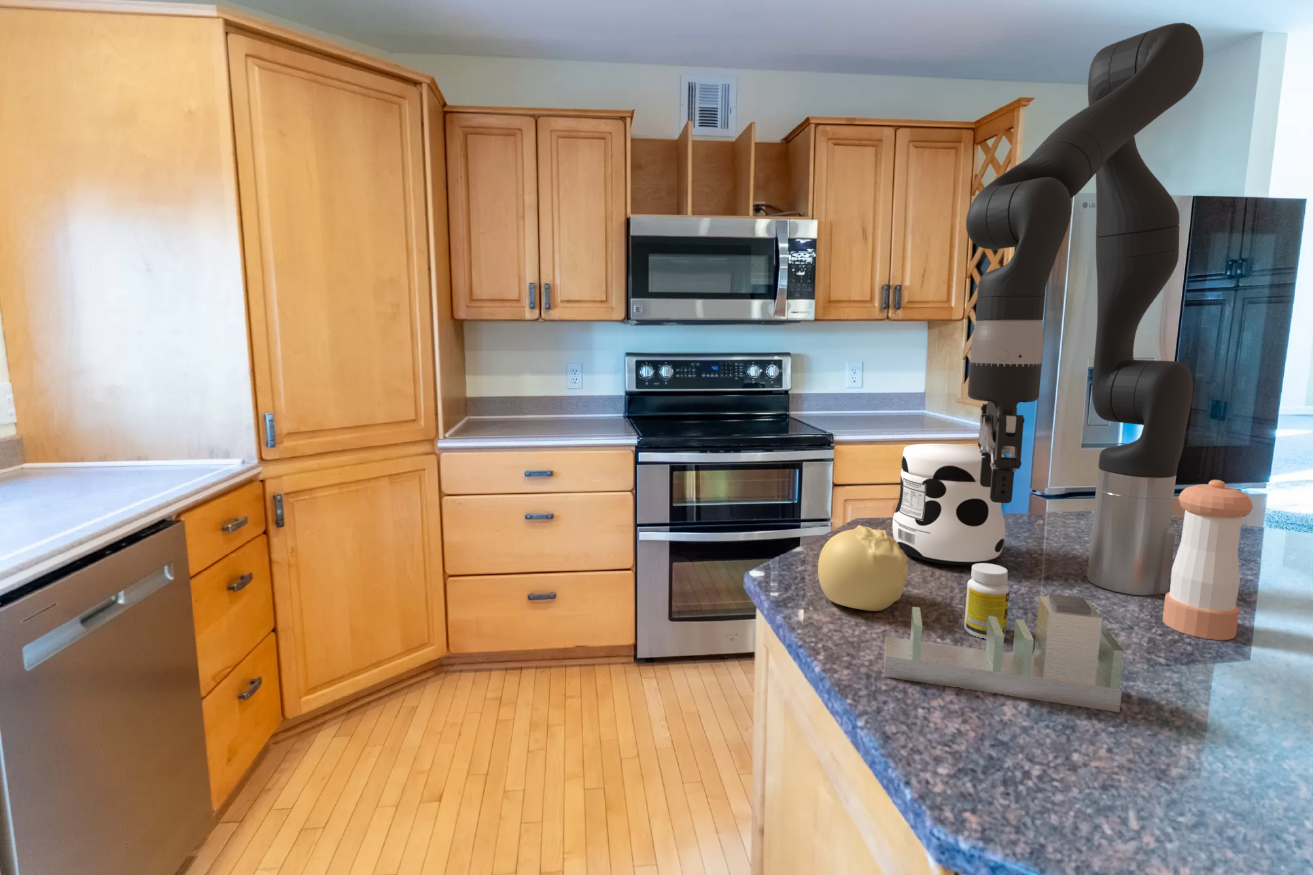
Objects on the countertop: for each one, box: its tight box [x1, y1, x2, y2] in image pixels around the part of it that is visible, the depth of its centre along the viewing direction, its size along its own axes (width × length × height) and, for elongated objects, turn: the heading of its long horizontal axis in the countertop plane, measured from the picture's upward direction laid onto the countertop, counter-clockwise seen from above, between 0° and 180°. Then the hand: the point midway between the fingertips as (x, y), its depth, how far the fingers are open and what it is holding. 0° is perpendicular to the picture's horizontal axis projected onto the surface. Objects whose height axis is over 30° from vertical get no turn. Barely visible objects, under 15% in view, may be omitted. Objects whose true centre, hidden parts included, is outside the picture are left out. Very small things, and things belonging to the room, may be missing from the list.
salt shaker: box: [1162, 479, 1254, 641], centre depth 83 cm, size 7×7×19 cm
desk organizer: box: [883, 593, 1125, 713], centre depth 70 cm, size 22×5×10 cm, turn 72°
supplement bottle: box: [963, 562, 1010, 640], centre depth 82 cm, size 5×5×8 cm
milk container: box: [892, 443, 1006, 566], centre depth 110 cm, size 17×17×18 cm
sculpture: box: [817, 524, 909, 612], centre depth 92 cm, size 12×12×11 cm
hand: (994, 494), depth 80 cm, fingers open, 8 cm apart
